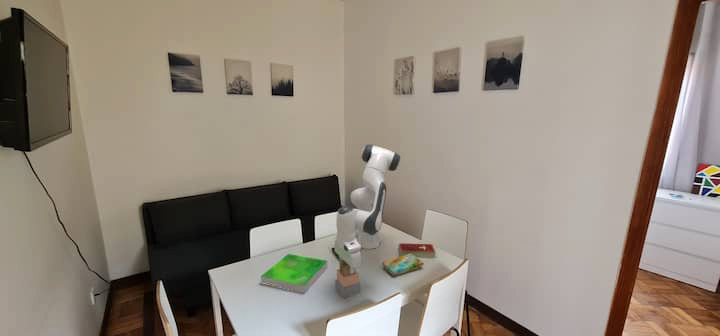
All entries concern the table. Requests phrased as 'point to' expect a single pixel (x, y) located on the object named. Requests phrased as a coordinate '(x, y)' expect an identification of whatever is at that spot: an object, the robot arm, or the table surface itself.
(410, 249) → the hardcover book
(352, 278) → the block
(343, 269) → the walnut block
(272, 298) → the table surface
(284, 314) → the table surface
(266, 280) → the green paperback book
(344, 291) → the tower base
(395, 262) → the puzzle game
